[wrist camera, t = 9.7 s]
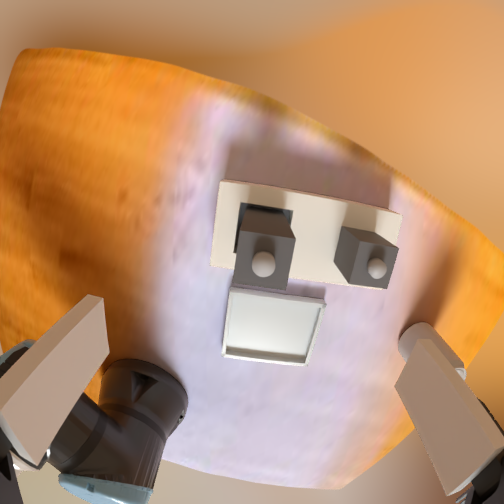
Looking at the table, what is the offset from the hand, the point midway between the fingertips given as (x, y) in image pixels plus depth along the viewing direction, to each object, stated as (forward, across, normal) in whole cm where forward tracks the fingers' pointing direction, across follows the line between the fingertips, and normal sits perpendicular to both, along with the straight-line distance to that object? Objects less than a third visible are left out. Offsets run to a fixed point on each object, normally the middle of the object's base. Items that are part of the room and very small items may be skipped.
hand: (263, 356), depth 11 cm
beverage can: (+24, +26, -13) cm, 38 cm away
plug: (+23, 0, 0) cm, 23 cm away
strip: (+24, +5, 0) cm, 24 cm away
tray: (+24, +4, -13) cm, 28 cm away
